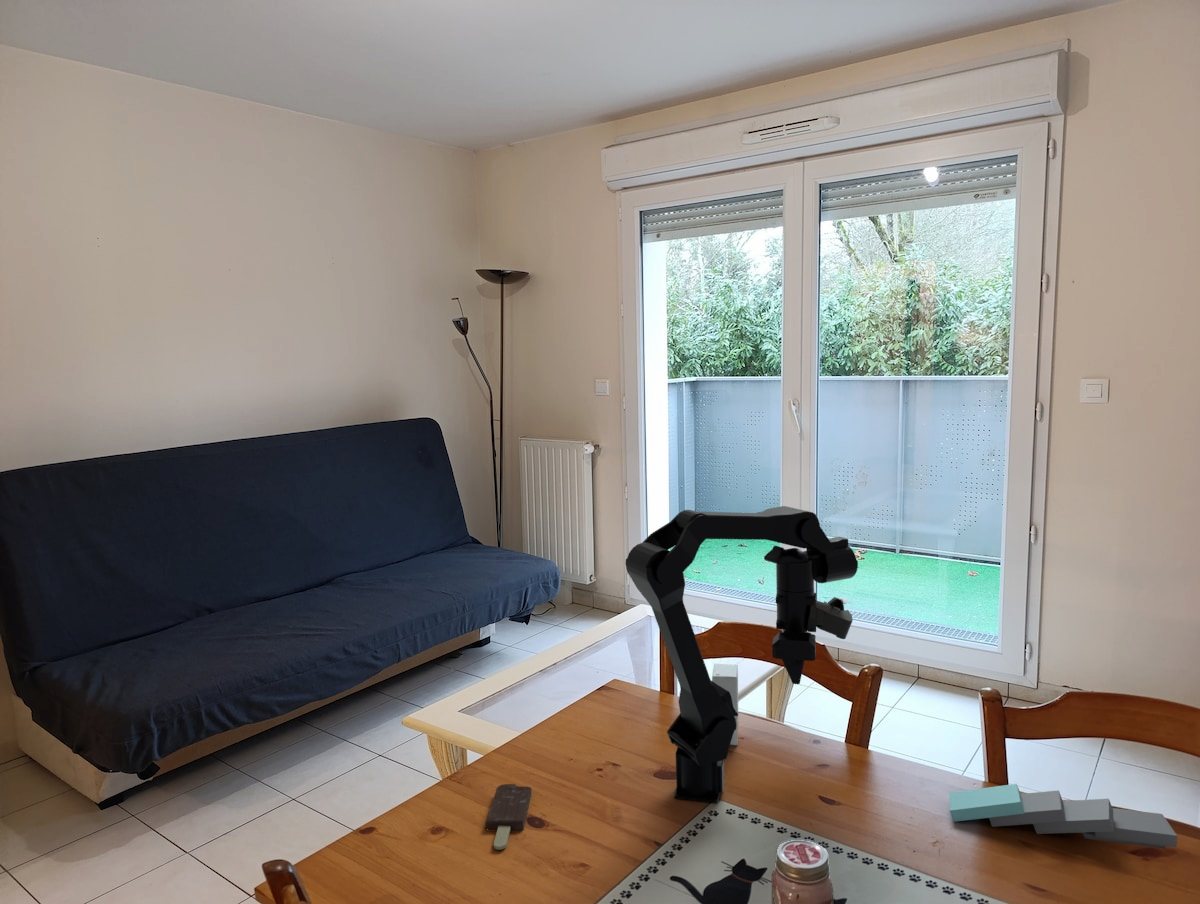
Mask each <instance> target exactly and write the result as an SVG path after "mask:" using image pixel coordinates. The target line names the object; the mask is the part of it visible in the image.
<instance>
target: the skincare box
mask: <svg viewBox="0 0 1200 904" xmlns="http://www.w3.org/2000/svg"><path fill="white" fill-rule="evenodd" d="M738 666H739V665H738V664H728V663H714V664H713V668H712V677H711V681H713V682H714V683H716V684H718V685H719V686H721V687H722V688H724V689H726V690H727V691H729V692H730V695H731V697H732V703H733V707H734V709H735V711H736V712H737V713H738V714H739V675H738V674H739V670H738V669H739V668H738ZM735 718H736V723H737V727H736V730H735V731H734V733H733V736H732V740H731V743H730V746H737V745H738V743H739V742H738V741H739V740H738V739H739V737H738V735H739V715H738V716H735Z"/></svg>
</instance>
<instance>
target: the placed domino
mask: <svg viewBox="0 0 1200 904" xmlns="http://www.w3.org/2000/svg"><path fill="white" fill-rule="evenodd" d="M1021 794H1022V793H1021V792H1020V789H1019V786H1018V784H1017V783H1012V784H1005V785H995V786H989V787H982V788H974V789H967V790H966V789H965V790H959V791H953V792H951V791H950V792H949V794H948V795H949V812H950V814H951V817H952V821H953V822H954V823H955V822H956V823H957V822H961V821H962V822H963V821H971V820H972V821H973V820H980V819H989V818H990V817H999V816H1007V815H1016V814H1024V808H1023V803H1022V798H1021Z"/></svg>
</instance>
